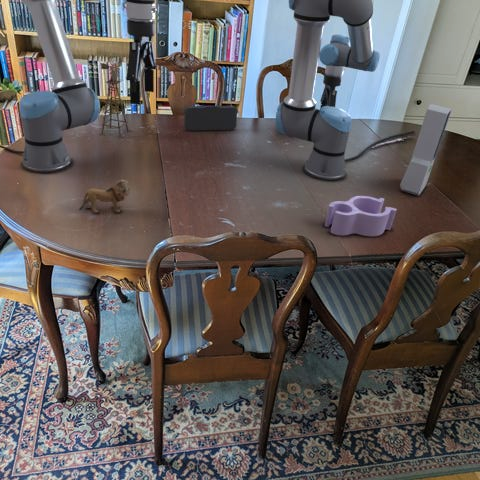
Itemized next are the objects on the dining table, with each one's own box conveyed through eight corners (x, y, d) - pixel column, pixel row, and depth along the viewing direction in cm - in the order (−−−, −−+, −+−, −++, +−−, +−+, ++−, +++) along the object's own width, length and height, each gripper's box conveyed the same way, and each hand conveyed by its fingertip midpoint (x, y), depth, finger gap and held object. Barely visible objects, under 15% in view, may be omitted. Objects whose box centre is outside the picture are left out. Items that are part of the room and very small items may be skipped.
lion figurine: (129, 202, 142) (128, 176, 137) (131, 211, 138) (130, 184, 133) (78, 207, 137) (75, 179, 132) (79, 216, 133) (76, 188, 128)
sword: (410, 136, 218) (410, 134, 218) (415, 138, 216) (416, 136, 216) (366, 148, 203) (366, 145, 202) (371, 151, 201) (372, 148, 200)
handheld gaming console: (234, 127, 207) (236, 105, 202) (236, 129, 205) (238, 107, 200) (183, 128, 200) (184, 105, 195) (185, 131, 198) (185, 107, 192)
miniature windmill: (120, 137, 185) (116, 58, 169) (100, 134, 186) (94, 55, 170) (129, 130, 193) (126, 54, 176) (110, 127, 194) (105, 51, 177)
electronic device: (418, 197, 164) (446, 113, 148) (397, 190, 167) (423, 108, 151) (426, 185, 173) (454, 105, 157) (406, 179, 176) (431, 100, 160)
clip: (337, 240, 135) (342, 219, 131) (318, 218, 145) (322, 198, 141) (395, 233, 141) (402, 213, 137) (373, 213, 151) (378, 194, 147)
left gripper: (140, 27, 117) (142, 111, 128) (166, 15, 138) (165, 88, 149) (111, 24, 117) (115, 107, 129) (141, 12, 138) (142, 85, 150)
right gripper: (348, 83, 185) (337, 134, 197) (336, 69, 207) (327, 116, 218) (330, 81, 185) (320, 133, 196) (319, 67, 206) (311, 114, 217)
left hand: (142, 97), depth 139 cm, fingers open, 13 cm apart
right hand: (323, 124), depth 207 cm, fingers open, 13 cm apart
